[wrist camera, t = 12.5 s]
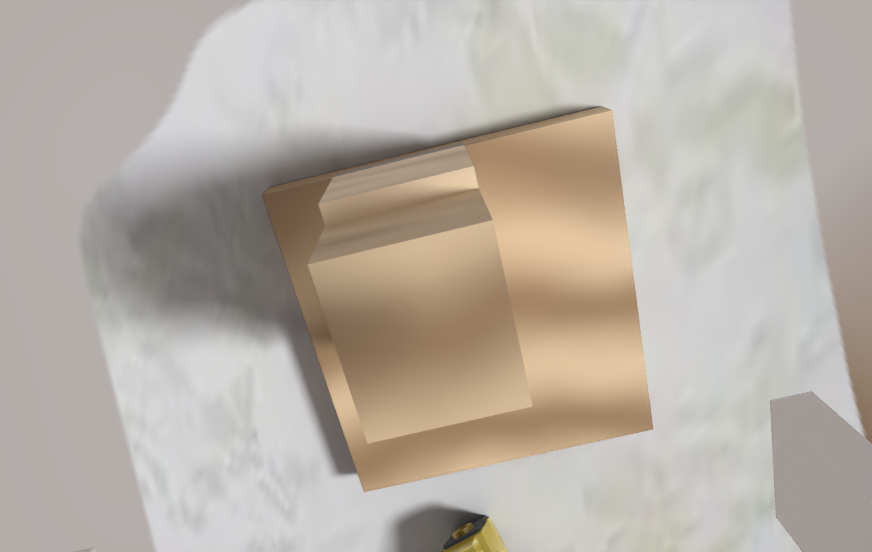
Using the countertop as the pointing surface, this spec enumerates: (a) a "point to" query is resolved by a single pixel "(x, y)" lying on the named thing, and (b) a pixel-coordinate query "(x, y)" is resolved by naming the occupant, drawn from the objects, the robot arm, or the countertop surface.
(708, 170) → the countertop surface
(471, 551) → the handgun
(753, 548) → the countertop surface
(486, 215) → the block
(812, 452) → the robot arm
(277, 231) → the board
